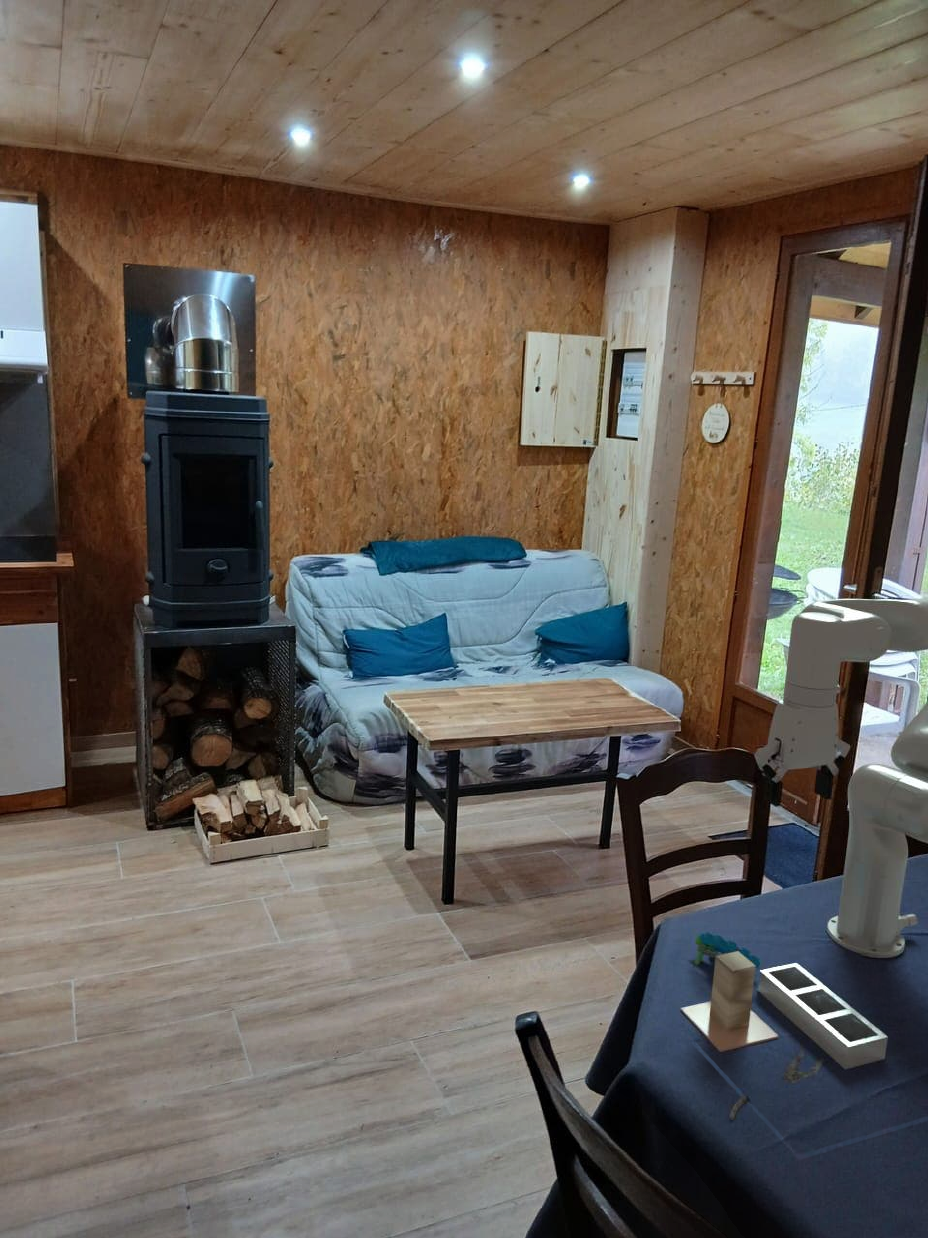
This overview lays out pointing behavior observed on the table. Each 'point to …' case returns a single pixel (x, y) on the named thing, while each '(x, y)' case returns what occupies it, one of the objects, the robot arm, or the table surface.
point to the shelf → (823, 1016)
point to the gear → (719, 948)
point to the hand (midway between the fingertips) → (797, 799)
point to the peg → (732, 991)
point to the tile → (730, 1039)
